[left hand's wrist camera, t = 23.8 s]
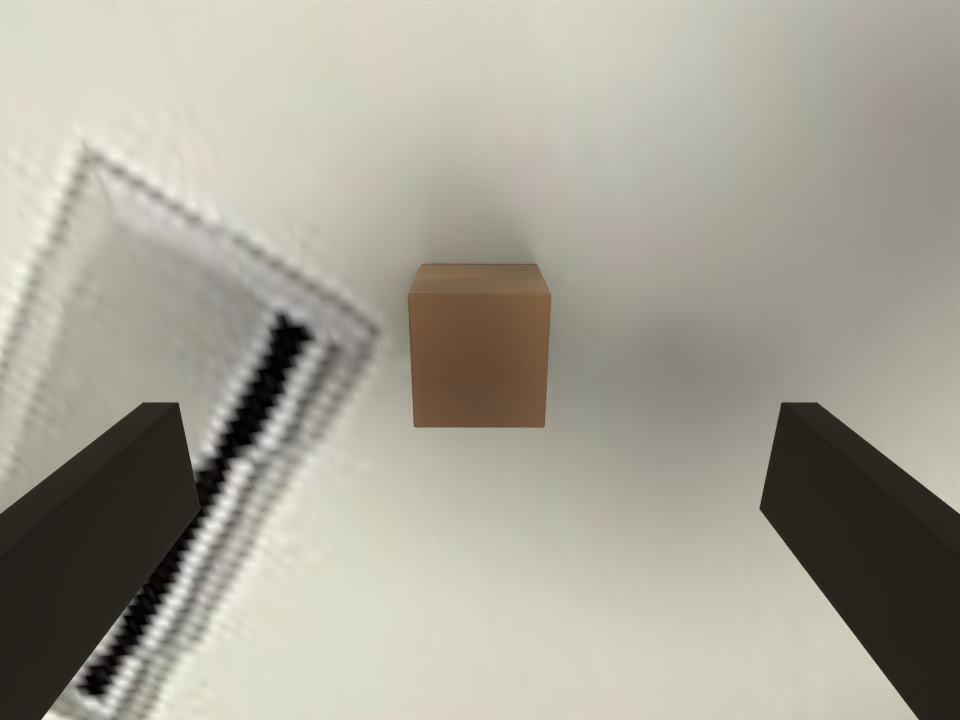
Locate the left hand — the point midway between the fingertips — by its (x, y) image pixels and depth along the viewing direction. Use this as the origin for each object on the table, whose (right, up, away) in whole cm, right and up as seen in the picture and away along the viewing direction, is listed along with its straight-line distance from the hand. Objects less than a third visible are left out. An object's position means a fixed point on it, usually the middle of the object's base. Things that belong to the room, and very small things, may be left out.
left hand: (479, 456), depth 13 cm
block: (0, +4, +9) cm, 10 cm away
